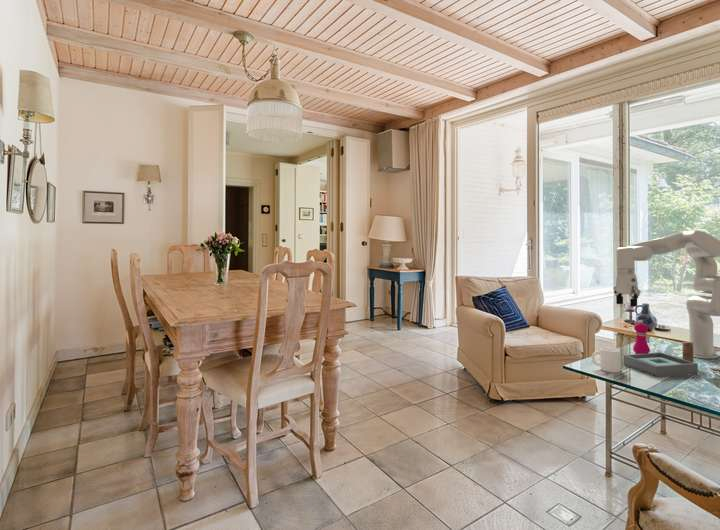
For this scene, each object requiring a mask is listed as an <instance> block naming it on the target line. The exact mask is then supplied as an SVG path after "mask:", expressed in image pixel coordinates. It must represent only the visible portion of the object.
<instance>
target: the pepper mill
mask: <svg viewBox="0 0 720 530" xmlns="http://www.w3.org/2000/svg"><path fill="white" fill-rule="evenodd" d="M633 327H634V328H633V329H634V331H635V337H636V339H635V342H634V344H633V348H632V349H633V351H634V354H645V353H651V348H650V347H649V344H648V342H647V336H648V331H649V327H648V325H647V324H646V323H644V321H643V320H642V319H640V320H639V321H638V323H635V324H634V325H633Z"/></svg>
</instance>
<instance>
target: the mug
mask: <svg viewBox="0 0 720 530" xmlns="http://www.w3.org/2000/svg"><path fill="white" fill-rule="evenodd" d="M597 355H600V357H599V359H600V362H598V361H596V356H597ZM591 361H592V362H593V364H594V365H595V366H597V367H598V366H599V367H600V369H602V370H601V371H603V372H605V371H606V373H610V372H611V373H613V374H614V373H620V372H621V370H622V369H621V366H622V365H621V364H622V363H621V362H622V361H621V349H620V348H616V347H608V346H607V347H605V346H604V347H600V348H599V350H596V351H594V352H593V353H592V354H591ZM611 373H610V374H611Z"/></svg>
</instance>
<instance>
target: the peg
mask: <svg viewBox="0 0 720 530" xmlns="http://www.w3.org/2000/svg"><path fill="white" fill-rule="evenodd" d="M681 346H682V347H681V348H682V359H684V360H688V361H691V362H694V357H693V343H692V342H690V341H682V345H681Z"/></svg>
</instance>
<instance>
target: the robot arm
mask: <svg viewBox="0 0 720 530" xmlns="http://www.w3.org/2000/svg"><path fill="white" fill-rule="evenodd" d="M681 249H686V253H687V254H688V255H689V256H690V257H691V258H692V260H693V262H694V263H695V271H694V278H693V283H692V284H693V285H692V286H693V289H694V291H695V292H698V293H701V294H707V295H708V294H709V295H711V296H707V295H698V294H697V295H693V296H690V297H689V298H688V299H687V301H686V310H687V313H688V324H689V329H688V330H689V342H692V343H693V358H696V359H707V360H708V359H709V360H712V359H718V357H719V355H718V354H717V352H719V353H720V347H714V343H715V342H714V321H713V318H712V317H717V318H718V317H719V318H720V275H718V263H717V261H716V260H715V259H716V258H720V239H718V238H716V237H715V236H713V235H711V234H709V233H707V232H705V231H702V230H683V231H678V232H675V233H672V234H669V235H665V236H662V237H659V238H654V239H650V240H645V241H641V242H637V243H633V244H631V245H628V246H625V247H617V249H616V277H615V278H616V279H615V285H614V287H613V292H614V295H615V301H616V302H615V303H616V305H623V304H624V297H623V295H627V296H628V295H629V297H630V301H629V302H630V303H629V304H630V305H629V306H630V307H631V308H635V307H638V299H639V297H640V293H641V290H640V289H639V282H638V278H637V274H636V273H635V269H636V268H635V263H636V262H647V261H649V260H650V259H652V258H653V256H658V255H664V254H665V255H666V254H669V253H672V252H675V251H679V250H681Z"/></svg>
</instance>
